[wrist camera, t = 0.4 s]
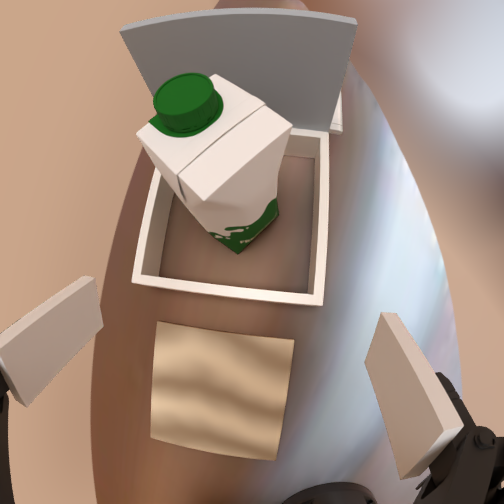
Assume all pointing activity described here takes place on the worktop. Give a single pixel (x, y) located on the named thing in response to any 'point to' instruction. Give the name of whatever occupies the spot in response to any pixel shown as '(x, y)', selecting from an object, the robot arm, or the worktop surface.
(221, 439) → the wooden mat
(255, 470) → the worktop surface
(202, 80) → the soya milk
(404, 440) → the robot arm
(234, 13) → the equipment case
